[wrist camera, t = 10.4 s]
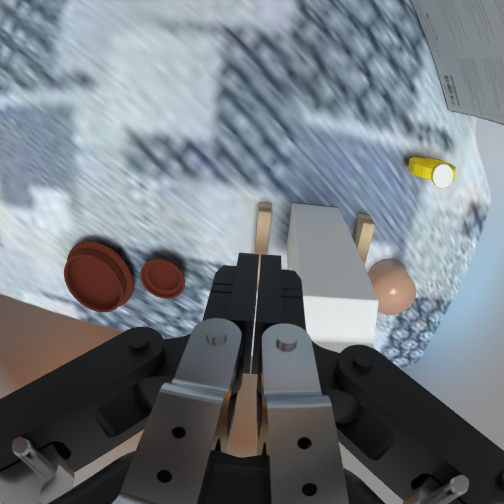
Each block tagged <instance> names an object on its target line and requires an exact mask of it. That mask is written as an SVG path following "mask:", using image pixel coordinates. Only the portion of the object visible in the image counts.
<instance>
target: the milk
mask: <svg viewBox="0 0 504 504" xmlns="http://www.w3.org/2000/svg"><path fill="white" fill-rule="evenodd" d="M287 259H288V270H294V271H295V272H296V273H297V274H298V276H299V277H300V278H301V281H302V291H303V301H304V312H305V323H306V331H307V333H308V334H309V336H310V338H311V340H312V341H313V342H314V343H316V344H317V345H319V346H320V347H322V348H325V349H328V350H331V351H335V352H338V353H341V352H342V350H344V349H345V348H346V347H348V346H351V345H365V346H369V347H371V348H373V349H374V346H373V340H374V333H375V326H376V318H377V311H378V298H377V296H376V293H375V291H374V288H373V286H372V283H371V281H370V278H369V276H368V274H367V271H366V269H365V266H364V264H363V262H362V259H361V257H360V255H359V252H358V250H357V248H356V245H355V243H354V241H353V238H352V236H351V234H350V232H349V229H348V227H347V225H346V223H345V221H344V219H343V216H342V214H341V212H340V210H339V208H335V207H325V206H316V205H306V204H296V203H292V207H291V215H290V223H289V231H288V239H287Z"/></svg>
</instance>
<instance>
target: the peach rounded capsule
mask: <svg viewBox="0 0 504 504" xmlns="http://www.w3.org/2000/svg"><path fill="white" fill-rule="evenodd" d="M368 276H369V278H370V281H371V283H372V286H373V288H374V291H375V293H376V296H377V298H378V311H379V312H381V313H383V314H386V315H395V314H398V313H401V312H403V311H405V310H406V309H407V308H408V307H410V305H411V304H412V303H413V301H414V299H415V297H416V287H415V285H414V283H413V282H412V280H411V278H410V276H409V275H408V273H407V271H406V269H405V268H404V266H403V265H402V263H401V262H399V261H398V260H395V259H384V260H381V261H379V262H377V263H376V264H374V265H373V266H372V267H371V269H370V270H369V272H368Z"/></svg>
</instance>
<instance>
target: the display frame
mask: <svg viewBox="0 0 504 504" xmlns="http://www.w3.org/2000/svg"><path fill="white" fill-rule="evenodd" d="M271 213H272V203H262V202H260V203H259V211H258V222H257V233H256V245H255V254H259V266H258V280H257V290H258V286H259V274H260V262H261V254H264V255H267V250H268V241H269V232H270V223H271ZM374 227H375V224H374V222H373V220H372V219H371V217H370V216H369V215H367V214H359V213H358V216H357V220H356V225H355V229H354V234H353V241H354V243H355V245H356V248H357V250H358V252H359V255H360V257H361V259H362V262H363V264H364V265H365V262H366V258H367V254H368V251H369V247H370V243H371V239H372V235H373V231H374Z"/></svg>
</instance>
